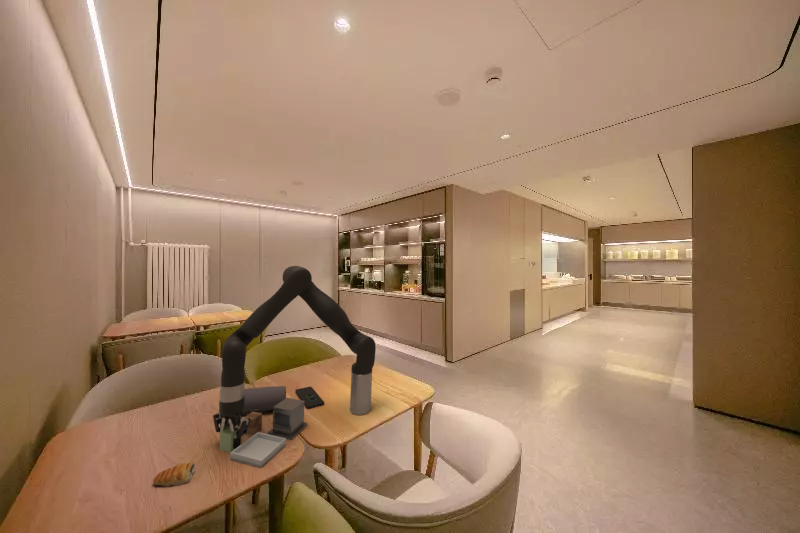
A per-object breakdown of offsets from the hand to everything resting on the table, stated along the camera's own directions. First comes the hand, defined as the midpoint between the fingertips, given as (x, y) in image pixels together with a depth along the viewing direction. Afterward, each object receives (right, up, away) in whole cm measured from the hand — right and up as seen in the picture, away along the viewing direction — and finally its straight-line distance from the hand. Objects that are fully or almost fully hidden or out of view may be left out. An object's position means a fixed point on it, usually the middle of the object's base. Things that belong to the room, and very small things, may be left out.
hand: (230, 445), depth 98 cm
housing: (+15, -1, +11) cm, 19 cm away
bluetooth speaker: (-3, -1, +24) cm, 24 cm away
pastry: (-7, -1, -15) cm, 16 cm away
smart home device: (+15, -2, +37) cm, 40 cm away
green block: (0, -1, 0) cm, 1 cm away
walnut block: (+3, -1, +10) cm, 10 cm away
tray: (+11, -1, -2) cm, 11 cm away
